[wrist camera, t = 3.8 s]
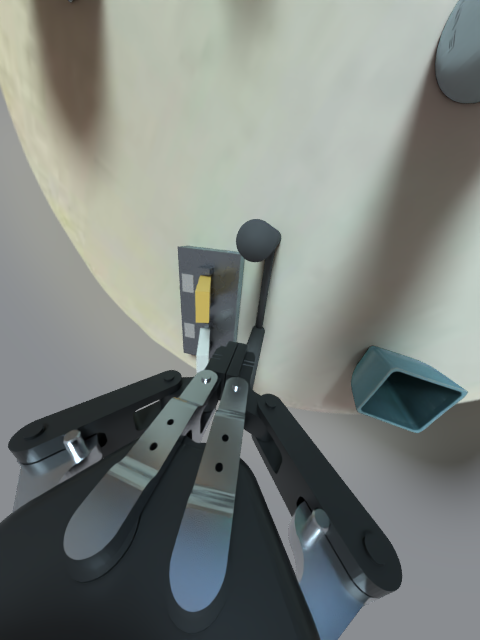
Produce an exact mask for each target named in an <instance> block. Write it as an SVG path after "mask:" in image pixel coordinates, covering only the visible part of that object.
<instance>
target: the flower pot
mask: <svg viewBox="0 0 480 640" xmlns="http://www.w3.org/2000/svg"><path fill="white" fill-rule="evenodd" d="M351 387H352V392H353V397H354V401H355V405H356V410H357V412H359V413H361V414H364V415H367V416H370V417H373V418H375V419H378V420H381V421H384V422H386V423H389V424H392V425H395V426H397V427H400V428H403V429H406V430H408V431H412V432H415V433H419V432H421V431H423V430H424V429H426V428H427V427H428V426H429V425H430V424H431V423H432V422H434V421H435V420H436V419H437V418H438V417H440V416H441V415H442V414H443V413H444V412H446V411H447V410H448V409H450V408H451V407H453V406H454V405H455V404H456V403H458V402H459V401H460V400H461V399H463V398H464V397H465V396H466V395H467V393H468V391H466V390H465V389H463V388H462V387H460V386H459V385H458V384H456V383H455V382H453V381H452V380H450V379H449V378H448V377H446V376H445V375H443V374H442V373H440V372H439V371H437V370H436V369H434V368H433V367H431V366H429V365H427V364H425V363H423V362H421V361H419V360H416V359H413V358H410V357H407V356H404V355H401V354H398V353H395V352H392V351H388V350H385V349H382V348H379V347H376V346H371V347H370V348H369V349H368V350H367V352H366V353H365V355H364V356H363V357H362V359H361V360H360V362H359V363H358V364H357V366H356V368H355V369H354V372H353V375H352V379H351Z"/></svg>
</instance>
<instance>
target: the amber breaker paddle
mask: <svg viewBox="0 0 480 640" xmlns="http://www.w3.org/2000/svg"><path fill="white" fill-rule="evenodd" d="M210 299H211V276H208V275H200V278H199V281H198V284H197V287H196V290H195V307H196V323H209V316H210Z"/></svg>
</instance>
